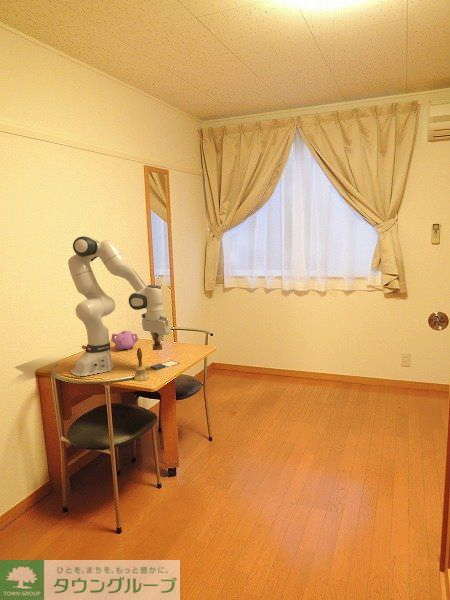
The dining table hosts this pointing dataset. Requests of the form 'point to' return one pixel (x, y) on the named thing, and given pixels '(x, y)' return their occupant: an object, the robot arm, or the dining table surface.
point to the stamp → (156, 343)
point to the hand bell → (140, 369)
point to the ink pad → (157, 367)
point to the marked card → (170, 363)
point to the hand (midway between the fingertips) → (157, 340)
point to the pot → (124, 340)
